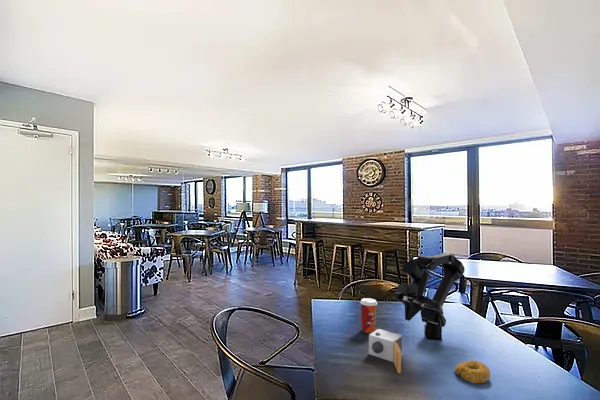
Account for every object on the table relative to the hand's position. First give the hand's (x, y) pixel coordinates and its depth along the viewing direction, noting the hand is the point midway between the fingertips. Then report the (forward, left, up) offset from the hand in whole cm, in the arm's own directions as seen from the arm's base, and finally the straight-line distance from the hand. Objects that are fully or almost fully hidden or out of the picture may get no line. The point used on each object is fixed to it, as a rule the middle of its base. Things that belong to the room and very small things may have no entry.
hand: (407, 320), depth 134 cm
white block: (+8, +6, -12) cm, 16 cm away
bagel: (-20, +15, -13) cm, 28 cm away
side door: (+5, +16, -12) cm, 20 cm away
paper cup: (+16, -16, -12) cm, 26 cm away
